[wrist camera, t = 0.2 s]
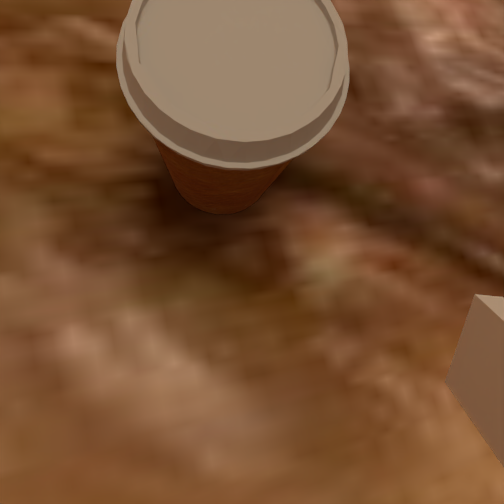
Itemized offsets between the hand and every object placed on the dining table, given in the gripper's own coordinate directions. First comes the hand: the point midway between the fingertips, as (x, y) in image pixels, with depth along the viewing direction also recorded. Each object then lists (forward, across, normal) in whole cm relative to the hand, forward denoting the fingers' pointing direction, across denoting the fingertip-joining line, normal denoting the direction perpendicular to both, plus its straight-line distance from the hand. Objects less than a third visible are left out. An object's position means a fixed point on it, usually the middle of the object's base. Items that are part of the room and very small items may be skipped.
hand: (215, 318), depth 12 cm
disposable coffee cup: (+19, 0, 0) cm, 19 cm away
